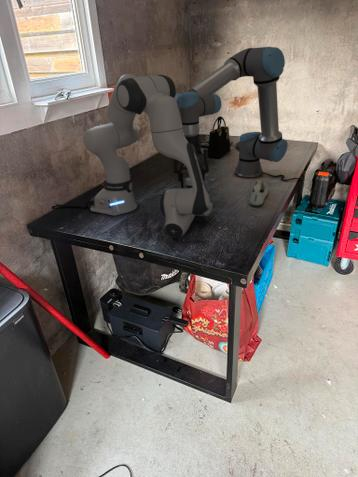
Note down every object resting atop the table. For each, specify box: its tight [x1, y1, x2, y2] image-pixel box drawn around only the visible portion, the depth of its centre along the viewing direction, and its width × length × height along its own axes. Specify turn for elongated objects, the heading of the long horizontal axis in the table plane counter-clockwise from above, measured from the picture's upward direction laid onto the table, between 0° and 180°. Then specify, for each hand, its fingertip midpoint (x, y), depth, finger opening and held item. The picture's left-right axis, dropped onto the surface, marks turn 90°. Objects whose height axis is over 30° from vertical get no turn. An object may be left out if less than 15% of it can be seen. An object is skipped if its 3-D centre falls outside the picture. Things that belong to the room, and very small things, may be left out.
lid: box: [184, 176, 192, 186], centre depth 142 cm, size 6×6×2 cm
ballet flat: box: [249, 179, 269, 207], centre depth 158 cm, size 8×24×8 cm, turn 163°
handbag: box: [206, 115, 231, 159], centre depth 220 cm, size 21×9×25 cm, turn 148°
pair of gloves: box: [200, 134, 234, 148], centre depth 250 cm, size 30×26×5 cm
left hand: (192, 199), depth 147 cm, fingers closed on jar, 4 cm apart
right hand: (191, 188), depth 143 cm, fingers open, 7 cm apart
